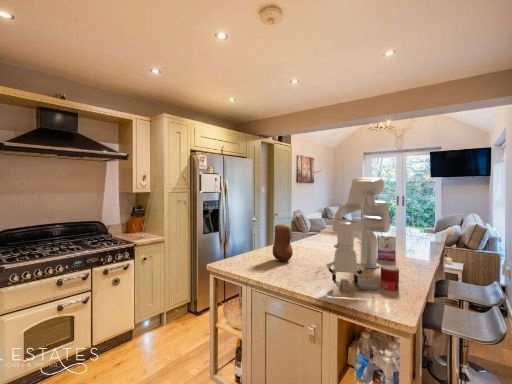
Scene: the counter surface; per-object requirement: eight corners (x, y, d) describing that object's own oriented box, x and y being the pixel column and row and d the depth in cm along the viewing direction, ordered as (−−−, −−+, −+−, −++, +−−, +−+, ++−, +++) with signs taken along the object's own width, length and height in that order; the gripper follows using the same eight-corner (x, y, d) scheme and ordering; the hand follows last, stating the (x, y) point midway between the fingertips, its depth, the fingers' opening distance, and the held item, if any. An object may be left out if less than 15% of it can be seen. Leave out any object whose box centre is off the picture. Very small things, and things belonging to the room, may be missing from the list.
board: (351, 282, 141) (351, 280, 141) (373, 283, 139) (373, 282, 139) (357, 293, 126) (357, 291, 126) (382, 295, 124) (382, 293, 124)
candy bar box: (394, 259, 187) (394, 235, 187) (395, 261, 182) (396, 237, 182) (376, 257, 190) (377, 234, 190) (377, 259, 186) (378, 236, 185)
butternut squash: (295, 259, 184) (295, 223, 184) (289, 264, 172) (289, 225, 171) (276, 257, 190) (276, 222, 189) (269, 262, 178) (269, 224, 177)
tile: (355, 279, 138) (359, 285, 129) (372, 280, 137) (377, 286, 128) (355, 282, 138) (359, 289, 129) (372, 283, 137) (377, 290, 128)
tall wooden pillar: (335, 282, 139) (335, 274, 139) (347, 283, 138) (348, 275, 138) (339, 292, 125) (339, 284, 125) (353, 293, 124) (353, 285, 124)
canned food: (399, 293, 126) (400, 270, 126) (381, 291, 129) (381, 268, 129) (397, 287, 133) (398, 265, 133) (380, 285, 136) (380, 264, 136)
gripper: (327, 248, 126) (327, 284, 127) (366, 250, 124) (365, 287, 124) (326, 245, 134) (325, 279, 134) (362, 246, 131) (361, 281, 131)
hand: (344, 282), depth 129 cm, fingers open, 9 cm apart
